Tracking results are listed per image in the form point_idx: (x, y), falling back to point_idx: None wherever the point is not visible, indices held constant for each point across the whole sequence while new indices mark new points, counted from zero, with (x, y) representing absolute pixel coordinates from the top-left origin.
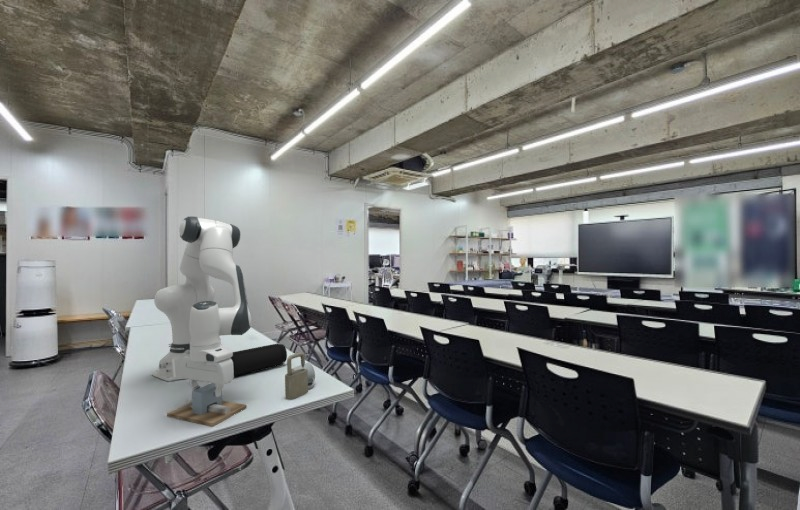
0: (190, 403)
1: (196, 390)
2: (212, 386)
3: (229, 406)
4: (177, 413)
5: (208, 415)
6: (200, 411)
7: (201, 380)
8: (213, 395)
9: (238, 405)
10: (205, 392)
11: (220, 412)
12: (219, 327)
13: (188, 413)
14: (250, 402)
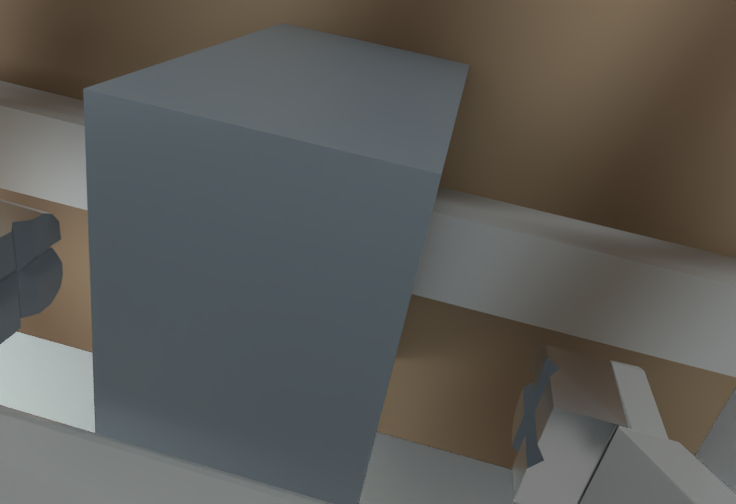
0: (654, 261)
1: (349, 229)
2: (166, 448)
3: None
4: (732, 17)
5: (173, 21)
6: (287, 31)
7: (110, 462)
8: (38, 215)
9: (57, 311)
10: (106, 197)
11: (64, 102)
12: None
13: (528, 41)
14: (80, 415)
